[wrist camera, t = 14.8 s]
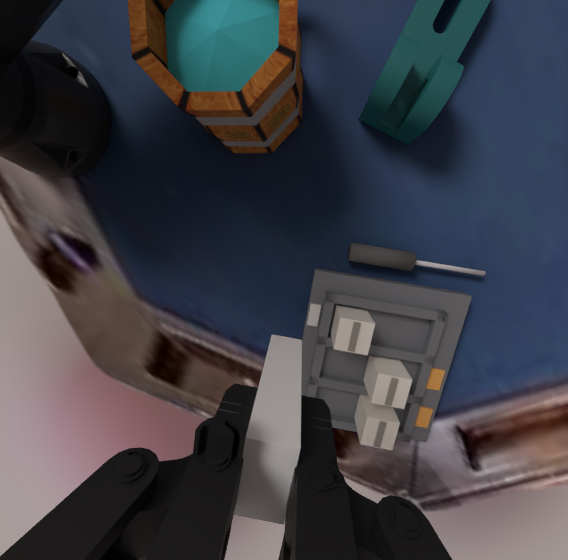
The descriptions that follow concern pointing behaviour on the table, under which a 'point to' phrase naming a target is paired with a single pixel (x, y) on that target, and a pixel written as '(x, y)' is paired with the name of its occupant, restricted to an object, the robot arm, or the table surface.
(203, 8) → the mug
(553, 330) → the table surface
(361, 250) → the screwdriver
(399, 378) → the white grooved block
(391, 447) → the small white box
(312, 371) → the switch bank
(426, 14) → the bracket
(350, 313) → the small white box
